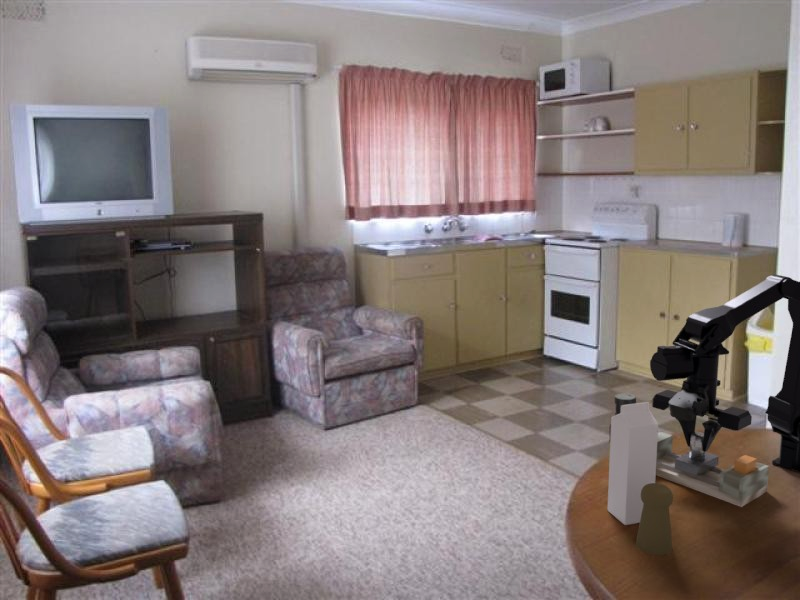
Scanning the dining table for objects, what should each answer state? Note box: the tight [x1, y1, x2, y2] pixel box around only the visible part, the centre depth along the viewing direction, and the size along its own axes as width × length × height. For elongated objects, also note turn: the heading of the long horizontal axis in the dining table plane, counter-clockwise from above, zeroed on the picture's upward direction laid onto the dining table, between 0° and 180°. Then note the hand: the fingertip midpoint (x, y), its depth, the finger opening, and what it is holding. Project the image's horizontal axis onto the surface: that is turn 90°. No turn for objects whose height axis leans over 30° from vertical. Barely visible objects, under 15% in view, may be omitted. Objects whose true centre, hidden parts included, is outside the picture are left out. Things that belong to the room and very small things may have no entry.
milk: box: [607, 401, 659, 526], centre depth 134 cm, size 6×6×22 cm
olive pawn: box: [635, 482, 674, 556], centre depth 125 cm, size 6×6×11 cm
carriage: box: [675, 431, 720, 476], centre depth 150 cm, size 8×5×7 cm, turn 128°
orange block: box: [733, 454, 758, 475], centre depth 142 cm, size 4×2×3 cm, turn 128°
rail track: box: [655, 431, 770, 508], centre depth 151 cm, size 10×24×6 cm, turn 38°
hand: (697, 448), depth 150 cm, fingers closed on carriage, 3 cm apart
